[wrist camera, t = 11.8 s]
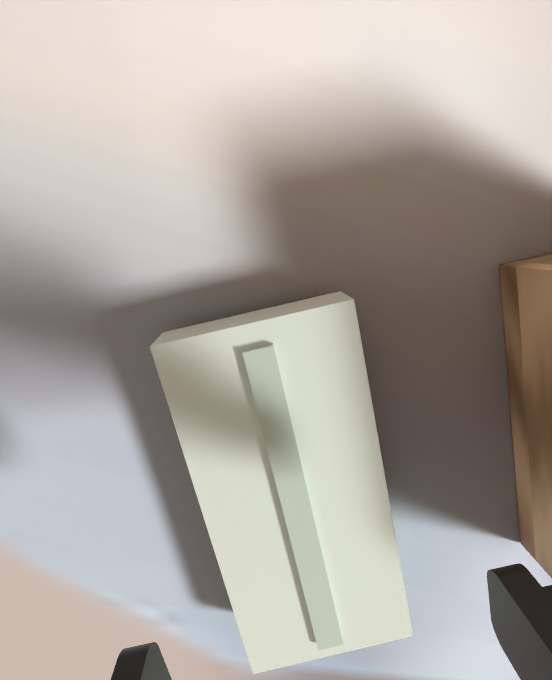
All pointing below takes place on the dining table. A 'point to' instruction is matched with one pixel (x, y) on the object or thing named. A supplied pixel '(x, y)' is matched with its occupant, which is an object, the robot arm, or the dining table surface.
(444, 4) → the dining table surface
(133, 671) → the robot arm
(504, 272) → the oak box
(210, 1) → the dining table surface
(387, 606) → the lid
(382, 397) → the dining table surface
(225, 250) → the dining table surface
